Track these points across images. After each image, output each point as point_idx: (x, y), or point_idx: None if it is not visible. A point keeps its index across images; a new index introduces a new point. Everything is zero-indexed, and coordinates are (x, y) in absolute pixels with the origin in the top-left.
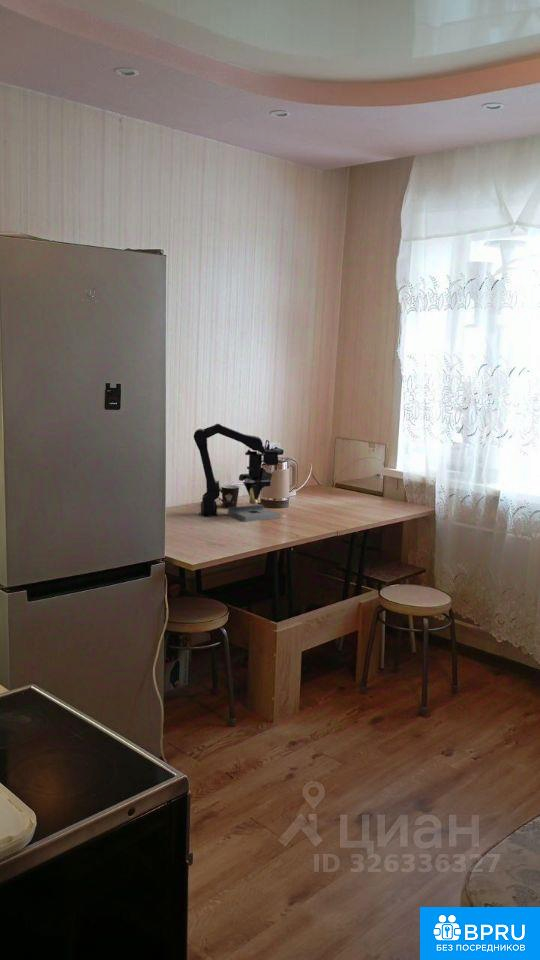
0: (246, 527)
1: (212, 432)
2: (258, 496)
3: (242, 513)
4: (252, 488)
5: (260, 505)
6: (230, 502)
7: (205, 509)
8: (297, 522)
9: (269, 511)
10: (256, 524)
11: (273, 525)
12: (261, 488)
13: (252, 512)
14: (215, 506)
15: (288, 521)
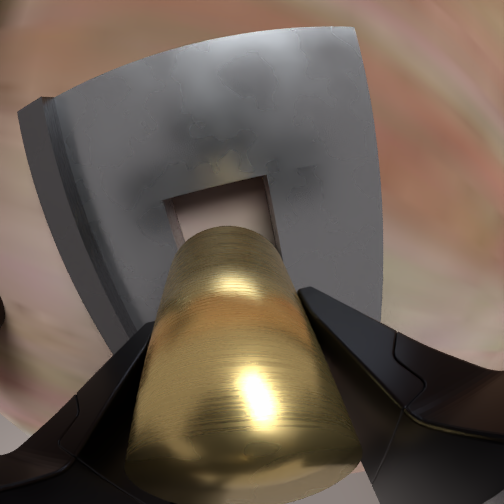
0: (454, 326)
1: None
2: (342, 305)
3: None
4: (291, 496)
5: (47, 125)
6: None
7: None
8: (457, 17)
9: (235, 71)
10: (441, 271)
11: (485, 188)
12: (498, 386)
13: (175, 225)
14: None
15: (435, 43)
